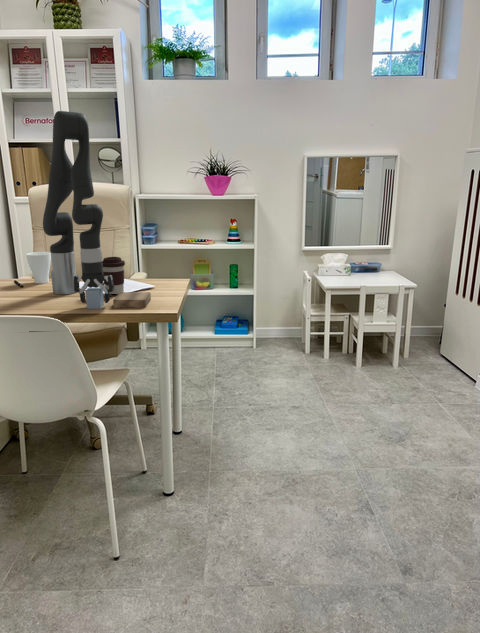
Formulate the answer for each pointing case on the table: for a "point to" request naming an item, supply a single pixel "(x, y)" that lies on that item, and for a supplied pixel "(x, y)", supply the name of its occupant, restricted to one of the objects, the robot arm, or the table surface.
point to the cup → (39, 266)
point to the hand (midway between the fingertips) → (95, 302)
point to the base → (132, 299)
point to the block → (94, 298)
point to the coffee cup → (114, 273)
